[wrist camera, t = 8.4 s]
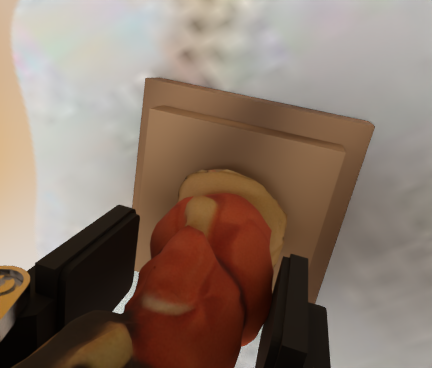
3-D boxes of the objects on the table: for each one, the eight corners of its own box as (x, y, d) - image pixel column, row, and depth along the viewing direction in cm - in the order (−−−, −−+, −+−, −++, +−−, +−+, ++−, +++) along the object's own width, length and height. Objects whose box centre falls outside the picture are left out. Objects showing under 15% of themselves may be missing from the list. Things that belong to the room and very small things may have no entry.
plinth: (368, 121, 15) (382, 132, 13) (308, 303, 19) (308, 343, 16) (158, 77, 17) (129, 78, 14) (138, 252, 21) (112, 280, 18)
